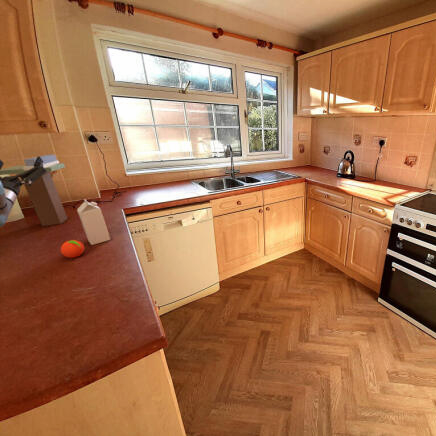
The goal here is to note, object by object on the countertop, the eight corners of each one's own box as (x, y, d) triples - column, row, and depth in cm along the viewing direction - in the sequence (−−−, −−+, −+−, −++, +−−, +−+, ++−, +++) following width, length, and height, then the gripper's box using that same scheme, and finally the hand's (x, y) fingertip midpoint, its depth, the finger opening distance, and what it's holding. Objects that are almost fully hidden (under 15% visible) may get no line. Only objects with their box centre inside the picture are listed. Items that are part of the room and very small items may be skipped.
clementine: (93, 253, 99) (87, 237, 97) (76, 262, 93) (69, 245, 90) (77, 251, 101) (71, 236, 98) (59, 260, 95) (52, 243, 92)
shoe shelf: (71, 224, 128) (49, 167, 117) (22, 230, 122) (-6, 170, 111) (82, 215, 141) (63, 163, 130) (39, 220, 135) (15, 165, 124)
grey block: (35, 169, 112) (31, 159, 110) (23, 170, 111) (19, 160, 109) (59, 162, 131) (56, 154, 129) (49, 163, 130) (45, 154, 128)
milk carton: (91, 245, 106) (76, 204, 99) (88, 240, 110) (73, 200, 103) (110, 240, 110) (97, 200, 103) (106, 235, 115) (94, 197, 108)
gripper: (-33, 204, 93) (-11, 168, 106) (49, 196, 101) (60, 164, 114) (-50, 190, 88) (-25, 154, 100) (37, 183, 96) (51, 151, 108)
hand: (20, 159), depth 107 cm, fingers open, 13 cm apart
